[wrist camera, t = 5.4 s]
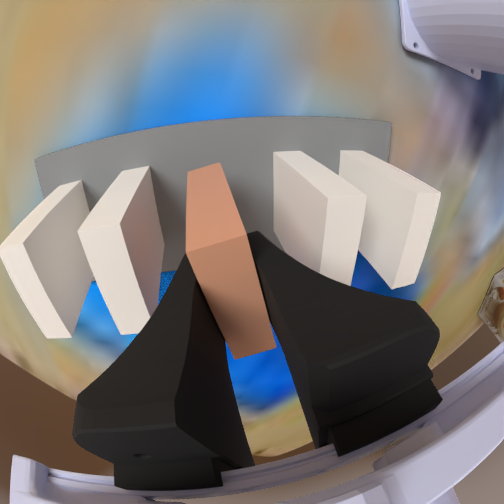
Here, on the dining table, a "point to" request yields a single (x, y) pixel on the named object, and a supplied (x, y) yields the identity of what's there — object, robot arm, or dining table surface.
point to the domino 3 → (225, 263)
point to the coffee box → (494, 306)
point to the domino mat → (207, 153)
